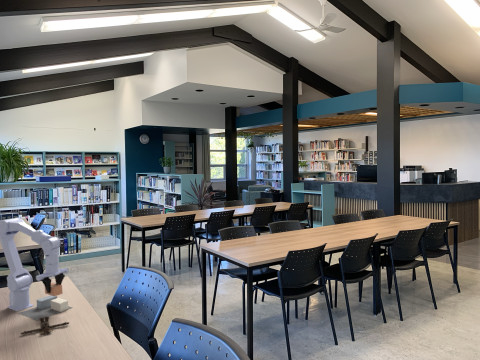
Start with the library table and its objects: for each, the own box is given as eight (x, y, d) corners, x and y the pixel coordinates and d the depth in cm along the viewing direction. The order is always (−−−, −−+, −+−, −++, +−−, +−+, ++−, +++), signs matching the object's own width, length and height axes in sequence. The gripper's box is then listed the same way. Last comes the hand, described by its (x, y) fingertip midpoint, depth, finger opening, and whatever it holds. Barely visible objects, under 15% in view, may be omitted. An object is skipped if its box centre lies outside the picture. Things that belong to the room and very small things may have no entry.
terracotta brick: (45, 293, 173) (44, 285, 173) (53, 290, 176) (52, 282, 176) (54, 296, 169) (53, 287, 168) (62, 293, 172) (62, 285, 172)
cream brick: (51, 308, 175) (50, 300, 174) (58, 305, 178) (58, 297, 178) (60, 311, 170) (60, 303, 170) (68, 308, 174) (68, 300, 174)
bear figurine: (66, 311, 165) (70, 319, 152) (67, 321, 164) (70, 330, 152) (20, 321, 155) (20, 330, 143) (20, 331, 155) (20, 341, 143)
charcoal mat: (18, 313, 170) (17, 313, 170) (53, 301, 184) (53, 301, 184) (37, 321, 161) (37, 320, 161) (73, 308, 175) (72, 307, 175)
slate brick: (41, 309, 174) (41, 301, 174) (36, 308, 176) (36, 299, 176) (57, 304, 180) (57, 296, 180) (52, 302, 183) (52, 294, 182)
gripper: (41, 267, 164) (42, 297, 164) (71, 260, 176) (72, 288, 176) (33, 265, 168) (34, 294, 168) (63, 258, 180) (64, 285, 180)
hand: (53, 291), depth 172 cm, fingers closed on terracotta brick, 4 cm apart
